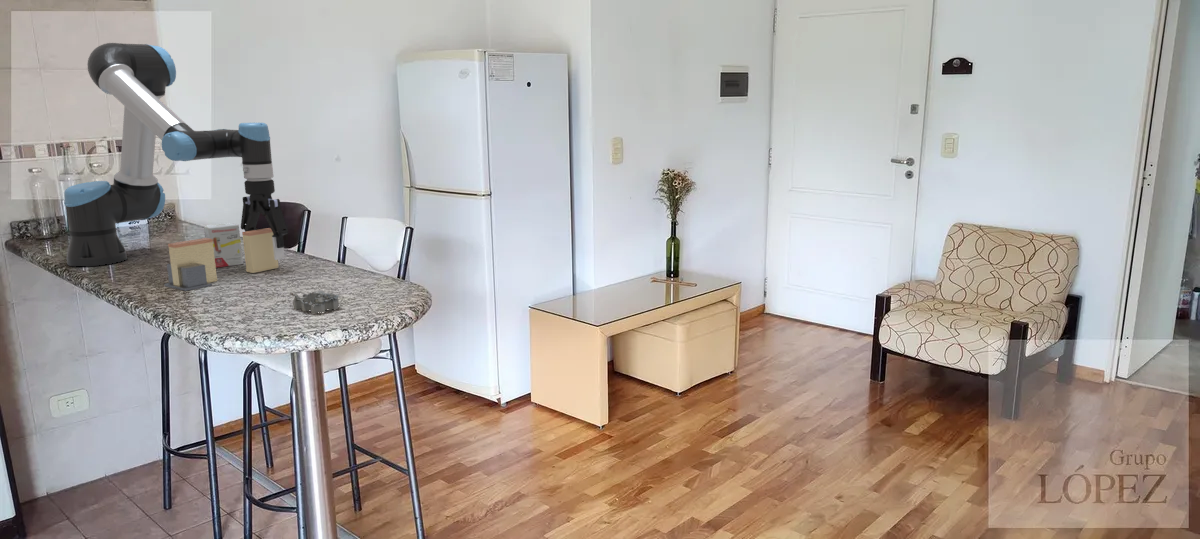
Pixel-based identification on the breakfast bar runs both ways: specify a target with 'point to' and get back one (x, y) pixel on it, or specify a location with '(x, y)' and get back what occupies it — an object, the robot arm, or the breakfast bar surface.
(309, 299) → the grey flat lobed block
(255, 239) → the stub
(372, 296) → the breakfast bar surface
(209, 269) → the ticket holder
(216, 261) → the ink box
